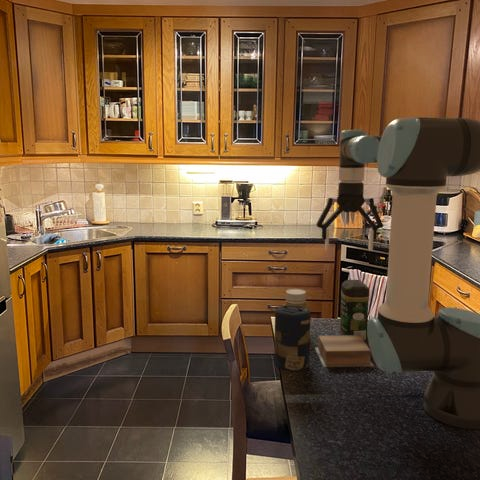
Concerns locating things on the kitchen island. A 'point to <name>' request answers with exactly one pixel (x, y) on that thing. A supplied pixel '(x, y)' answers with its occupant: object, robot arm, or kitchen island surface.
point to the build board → (339, 365)
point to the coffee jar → (354, 308)
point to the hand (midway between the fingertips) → (348, 249)
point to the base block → (344, 350)
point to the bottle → (296, 297)
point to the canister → (292, 337)
